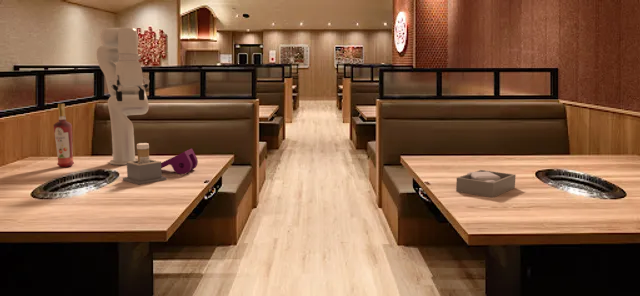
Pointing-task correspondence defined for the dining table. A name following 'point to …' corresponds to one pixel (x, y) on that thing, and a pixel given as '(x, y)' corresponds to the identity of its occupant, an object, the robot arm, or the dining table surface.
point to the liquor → (63, 139)
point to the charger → (484, 176)
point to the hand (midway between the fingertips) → (130, 100)
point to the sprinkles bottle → (143, 153)
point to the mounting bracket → (182, 162)
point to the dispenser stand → (486, 184)
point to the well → (144, 172)
